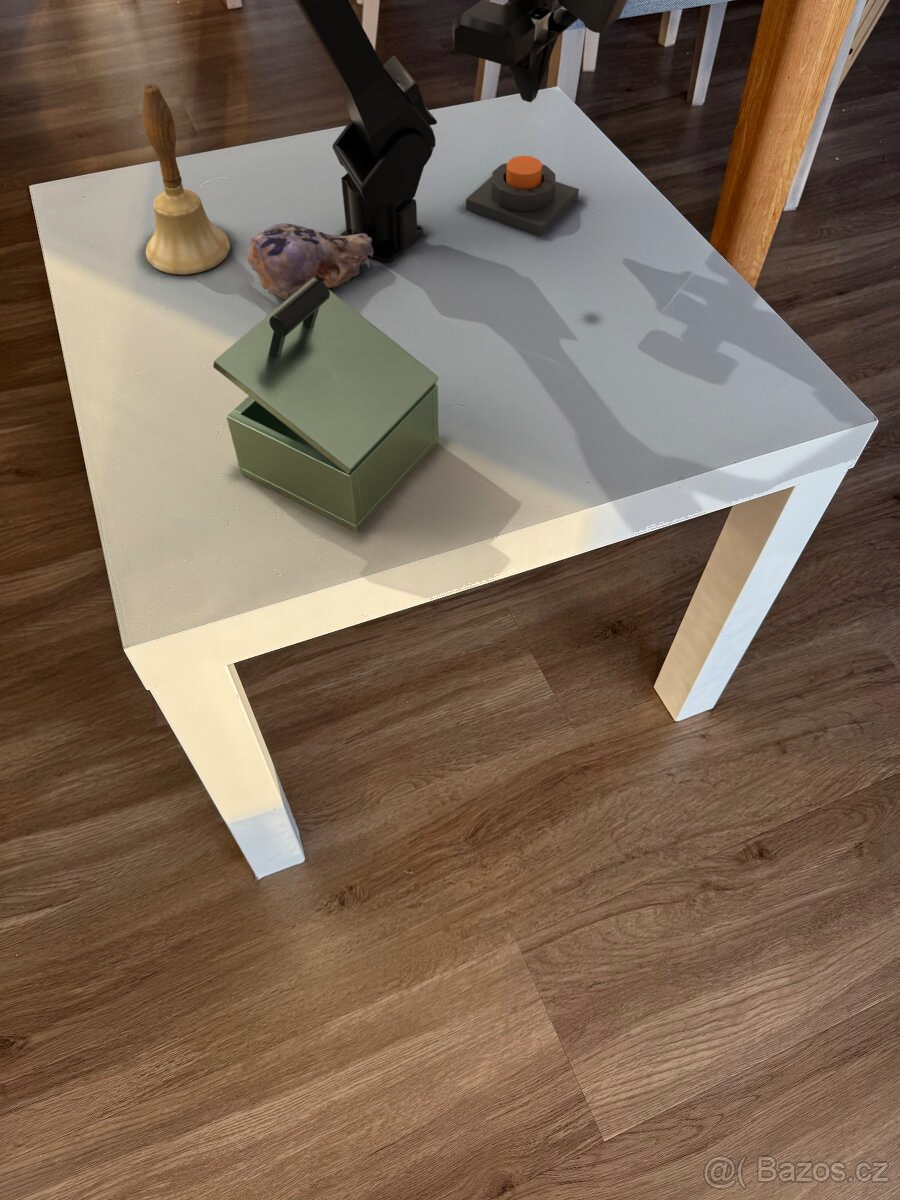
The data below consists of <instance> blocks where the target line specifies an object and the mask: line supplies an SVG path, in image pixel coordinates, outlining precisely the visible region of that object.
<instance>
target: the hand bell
mask: <svg viewBox="0 0 900 1200" xmlns="http://www.w3.org/2000/svg"><path fill="white" fill-rule="evenodd" d="M142 90H143V92H142V93H143V96H142V97H143V99H142V121H143V126H144V129H145V132H146V135H147V138H148V141H149V143H150V145H151V147H152V148H153V150H154V153H156V157H157V159H158V163H159V167H160V171H161V176H162V177H161V178H162V183H163V188H164V191H162V192H161V193H159V194H158V195H157V196H156V197H155V199H154V201H153V211H154V221H155V223H154V225H155V226H154V227H155V228H154V233H153V235H152V236H151V237H150V239H149V240H148V242H147V244H146V248H145V258H146V260H147V261H148V263H149V265H151V266H152V267H153V268H155V269H156V270H158V271H161V272H164V273H167V274H172V275H180V276H181V275H192V274H199V273H202V272H205V271H208V270H211V269H213V268H215V267H217V266H218V265H219V264H221V263H222V262H223V261H224V260H225V259H226V258H227V257H228V255H229V252H230V250H231V242H230V240H229V238H228V237H227V235H226V234H225V232H224V231H222V229H220V228H218V227H217V226H215V225H214V224H213V223H212V222H211V220H210V219H209V217H208V215H207V213H206V211H205V208H204V205H203V203H202V199H201V197H200V196H199V194H197V193H196V192H195V191H193V190H191V189H187V188H184V186H183V179H182V176H181V173H180V170H179V165H178V162H177V158H176V146H177V136H176V125H175V121H174V117H173V113H172V111H171V109H170V106H169V105H168V103H167V101H166V99H165V98H164V96H163V94H162V92H161V90H160V88H159V86H158V85H157V84H156V83H147V84H145V85H144V86H143V88H142Z"/></svg>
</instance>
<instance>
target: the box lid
mask: <svg viewBox="0 0 900 1200" xmlns="http://www.w3.org/2000/svg"><path fill="white" fill-rule="evenodd" d="M212 367H213V368H214V369H215V370H216V371H217V372H219V374H221V375H222V376H223V377H225V378H226V379H227V380H229V381H230V382H231V383H232V384H233V385H235V386H236V387H237V388H239V389H240V390H241V391H242V392H244V393H245V394H246V395H247V396H250V397H251V398H253V399H254V400H255V401H256V402H258V403H259V404H260V405H261V406H263V407H264V408H265V409H266V410H268V411H269V412H270V413H271V414H273V415H274V416H275V417H276V418H278V419H279V420H280V421H281V422H283V423H284V424H285V425H287V426H288V427H289V428H290V429H292V430H293V431H294V432H295V433H297V434H298V435H299V436H300V437H302V438H303V439H304V440H305V441H307V442H308V443H309V444H310V445H312V446H313V447H314V448H315V449H317V450H318V451H319V452H320V453H322V454H323V455H324V456H325V457H327V458H328V459H329V460H331V461H332V462H333V463H334V464H336V465H337V466H338V467H339V468H341V469H342V470H343V471H344V472H346V473H347V474H349V473H350V472H351V471H352V470H353V469H354V468H355V467H356V466H357V465H358V464H359V463H360V462H361V461H362V460H363V459H364V458H365V457H366V456H367V455H368V454H369V453H370V452H371V450H372V449H373V448H374V447H375V446H376V445H377V444H378V443H379V442H380V441H381V440H382V439H383V438H384V437H385V436H386V435H387V434H388V433H389V432H390V431H391V430H392V429H393V428H394V427H395V426H396V424H397V423H398V422H399V421H400V420H401V419H402V418H403V417H404V416H405V415H406V414H407V413H408V412H409V411H410V410H411V409H412V408H413V407H414V406H415V405H416V404H417V403H418V402H419V401H420V399H421V398H422V397H423V396H424V395H425V394H426V393H427V392H428V391H429V390H430V389H431V388H432V387H433V386H434V385H435V384H437V383H438V381H439V378H440V376H438V375H437V374H436V373H435V372H433V371H432V370H431V369H429V367H427V365H425V364H423V363H422V362H420V361H419V360H418V359H417V358H416V357H414V355H412V354H411V353H410V352H408V351H407V350H406V349H404V347H402V346H401V345H400V344H398V343H397V342H396V341H395V340H393V339H392V338H391V337H389V335H387V334H386V333H385V332H383V331H382V330H380V329H379V328H378V327H377V326H375V325H374V324H373V323H372V322H370V321H369V320H368V319H367V318H366V317H364V316H363V315H362V314H361V313H359V312H358V311H357V310H356V309H354V308H353V307H352V306H351V305H349V304H348V303H347V302H346V301H344V300H343V299H342V298H341V297H339V296H338V295H337V294H335V292H333V291H332V290H331V289H330V288H328V287H327V286H326V285H325V284H324V283H323V282H322V280H321V279H317V280H316V279H315V278H314V277H313V278H312V279H311V280H309V281H308V282H307V283H306V284H305V285H303V286H302V287H301V288H300V289H299V290H298V291H296V292H295V293H294V294H293V295H292V296H290V297H289V298H288V299H285V300H284V301H283V302H282V303H280V304H279V305H278V306H277V307H276V308H275V309H274V310H272V311H271V312H270V313H269V314H267V315H266V316H265V317H264V318H263V319H262V320H260V322H258V323H256V325H254V326H253V327H252V328H251V329H250V330H249V331H248V332H246V333H245V334H244V335H243V336H241V338H239V339H238V340H237V341H235V343H233V344H232V345H230V346H229V347H228V348H227V349H226V350H225V351H223V352H222V353H221V354H220V355H219V356H217V357H216V358H215V359H214V360H213V365H212Z"/></svg>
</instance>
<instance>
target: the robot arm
mask: <svg viewBox="0 0 900 1200" xmlns="http://www.w3.org/2000/svg"><path fill="white" fill-rule="evenodd" d="M294 2H295V4H296V5H297V7H298V9H299V10H300V12H301V14H302V16H303V17H304V20H305V21H306V23H307V25H308V26H309V28H310V30H311V31H312V33H313V35H314V36H315V39H316V40H317V41H318V43H319V45H320V47H321V48H322V50H323V53H324V54H325V55H326V57H327V59H328V60H329V62H330V64H331V66H332V67H333V69H334V71H335V73H336V74H337V77H338V80H339V82H340V86H341V90H342V95H343V99H344V103H345V105H346V108H347V110H348V113H349V117H350V120H349V122H348V123H347V125H346V126H344V128H343V130H342V131H341V133H340V134H339V135H338V137H337V138H336V139H335V141H334V142H333V144H332V150H333V152H334V154H335V157H336V158H337V160H338V163H339V164H340V165H341V167H343V169H344V170H345V172H346V173H345V174H344V175H343V176H342V177H341V178H340V181H341V190H342V191H341V192H342V201H343V212H344V220H345V221H344V222H345V230H344V231H343V232H342V233H340V234H339V235H338V236H349V235H356V234H367V235H368V237H371V238H372V243H371V245H372V247H373V252H374V253H373V254H372V257H371V256H370V255H368V257H371V258H373V259H376V260H379V261H381V262H383V263H391V262H392V261H393V260H394V259H396V257H397V256H399V255H400V254H401V253H402V252H404V251H405V250H406V249H407V248H408V247H409V246H410V245H411V244H412V243H414V241H416V240H417V239H418V238H419V237H421V235H423V234H424V227H423V226H422V225H419V224H418V211H417V210H418V209H417V207H418V206H417V205H418V204H417V200H416V198H415V197H416V194H417V191H418V188H419V185H420V181H421V178H422V175H423V171H424V168H425V166H426V165H427V163H428V162H429V160H430V159H431V157H432V154H433V151H434V149H435V147H436V146H437V144H436V142H437V141H436V136H435V133H434V130H433V128H432V126H435V125H437V124H438V120H437V119H436V118H435V117H434V115H433V114H432V113H431V112H430V110H429V109H428V108H427V107H426V106H425V102H424V100H423V99H424V98H423V96H422V95H423V94H422V92H421V90H420V88H419V85H418V83H417V82H416V81H415V80H414V78H413V77H412V76H411V74H409V72H408V71H407V69H405V68H404V66H403V65H402V64H401V62H400V61H399V60H398V59H397V58H396V56H395V55H391V57H390V58H389V59H388V60H387V61H386V62H385V63H384V64H383V63H382V61H381V59H380V57H379V55H378V54H377V51H376V50H375V47H374V46H373V44H372V42H371V40H370V38H369V36H368V34H367V32H366V30H365V28H364V27H363V25H362V23H361V22H360V20H359V17H358V15H357V14H356V12H355V10H354V8H353V6H352V4H351V2H350V0H294ZM627 2H628V0H507V1H506V2H505V3H504V4H500V3H497V2H493V1H489V0H480V1H478V2H477V3H475V4H474V5H473V6H471V7H470V8H468V9H467V10H465V11H464V12H462V13H461V14H460V15H459V16H458V17H457V18H456V19H455V20H454V21H453V22H452V49H453V51H455V52H457V53H462V54H465V55H469V56H472V57H474V58H475V57H476V58H477V59H478V58H479V59H482V60H484V61H490V62H493V63H496V64H498V65H502V66H508V68H509V71H510V73H511V75H512V78H513V82H514V83H515V86H516V88H517V91H518V93H519V96H520V99H521V101H524V102H527V103H532V102H533V101H534V100H536V99H537V96H538V93H539V90H540V87H541V85H542V82H543V79H544V75H545V73H546V70H547V68H548V64H549V62H550V59H551V56H552V54H553V50H554V48H555V45H556V43H557V40H558V39H559V37H560V36H561V34H563V33H564V32H565V31H566V30H567V29H569V28H570V27H571V26H573V24H575V23H576V22H577V21H578V20H579V21H581V22H582V23H583V25H584V27H585V28H586V29H588V30H589V31H590V32H592V33H596V34H600V33H601V34H602V33H603V32H605V31H606V30H607V28H608V27H609V26H610V25H612V24H613V23H614V22H616V21H618V20H619V19H620V17H621V14H622V13H623V11H624V9H625V6H626V4H627Z"/></svg>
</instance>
